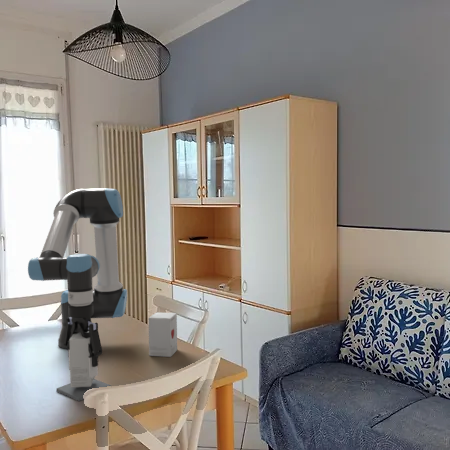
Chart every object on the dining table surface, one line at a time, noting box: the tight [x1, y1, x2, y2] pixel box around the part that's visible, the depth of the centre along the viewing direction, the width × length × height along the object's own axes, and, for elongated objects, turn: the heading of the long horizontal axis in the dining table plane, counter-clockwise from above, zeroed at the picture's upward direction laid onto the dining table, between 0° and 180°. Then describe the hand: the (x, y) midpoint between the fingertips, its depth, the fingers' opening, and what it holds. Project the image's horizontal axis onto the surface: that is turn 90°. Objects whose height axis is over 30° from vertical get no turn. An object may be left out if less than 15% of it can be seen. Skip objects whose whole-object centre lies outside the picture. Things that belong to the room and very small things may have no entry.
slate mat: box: [55, 378, 112, 402], centre depth 154 cm, size 12×12×1 cm
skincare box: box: [69, 331, 96, 388], centre depth 153 cm, size 8×7×16 cm
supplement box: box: [148, 312, 178, 358], centre depth 187 cm, size 9×9×15 cm
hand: (83, 372), depth 153 cm, fingers closed on skincare box, 10 cm apart
